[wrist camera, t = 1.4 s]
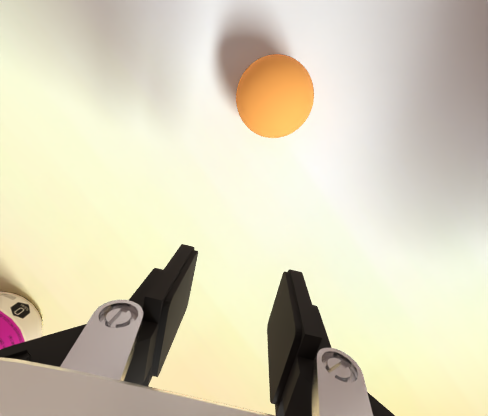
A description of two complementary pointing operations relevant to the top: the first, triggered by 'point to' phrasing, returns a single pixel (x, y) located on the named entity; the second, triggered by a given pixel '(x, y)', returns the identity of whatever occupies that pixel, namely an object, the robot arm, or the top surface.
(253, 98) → the ball
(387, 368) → the top surface
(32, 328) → the supplement can
